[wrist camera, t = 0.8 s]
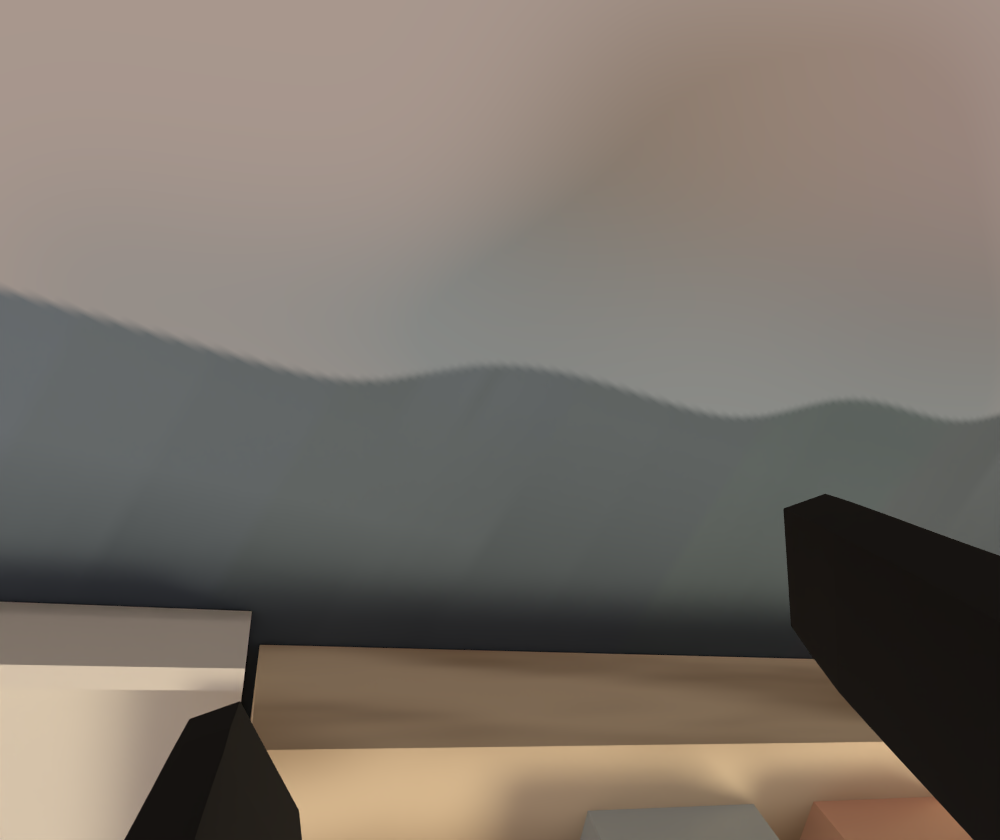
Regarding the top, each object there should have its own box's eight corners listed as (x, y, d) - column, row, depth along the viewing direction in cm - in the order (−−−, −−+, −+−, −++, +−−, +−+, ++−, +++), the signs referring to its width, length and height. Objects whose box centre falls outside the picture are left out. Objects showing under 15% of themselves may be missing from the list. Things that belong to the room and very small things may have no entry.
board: (875, 862, 29) (959, 960, 25) (226, 908, 22) (211, 1053, 18) (955, 662, 27) (1059, 739, 23) (259, 644, 20) (249, 750, 16)
